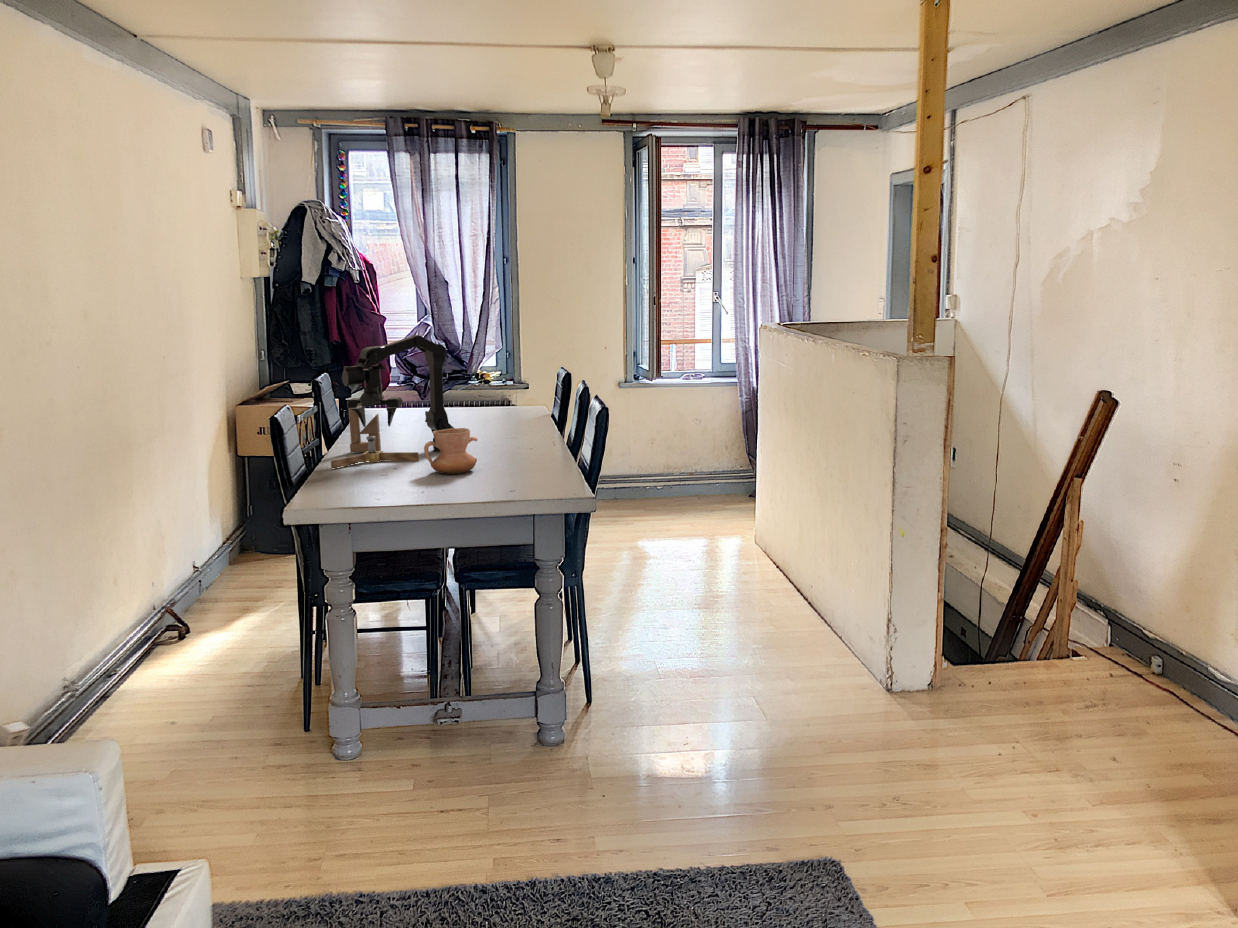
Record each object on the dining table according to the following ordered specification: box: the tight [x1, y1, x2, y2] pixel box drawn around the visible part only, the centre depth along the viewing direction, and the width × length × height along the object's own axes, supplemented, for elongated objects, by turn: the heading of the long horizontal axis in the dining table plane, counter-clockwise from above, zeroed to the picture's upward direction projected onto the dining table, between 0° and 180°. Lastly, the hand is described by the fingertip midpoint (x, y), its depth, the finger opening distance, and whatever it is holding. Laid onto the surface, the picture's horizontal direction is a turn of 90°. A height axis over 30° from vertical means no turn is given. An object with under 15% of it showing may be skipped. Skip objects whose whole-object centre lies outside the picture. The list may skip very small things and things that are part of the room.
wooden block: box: [347, 408, 382, 453], centre depth 381 cm, size 4×11×18 cm, turn 92°
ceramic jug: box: [423, 427, 479, 475], centre depth 340 cm, size 18×14×14 cm
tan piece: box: [330, 450, 420, 468], centre depth 358 cm, size 26×18×3 cm
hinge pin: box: [365, 435, 376, 454], centre depth 364 cm, size 3×3×9 cm
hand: (376, 426), depth 365 cm, fingers open, 9 cm apart
